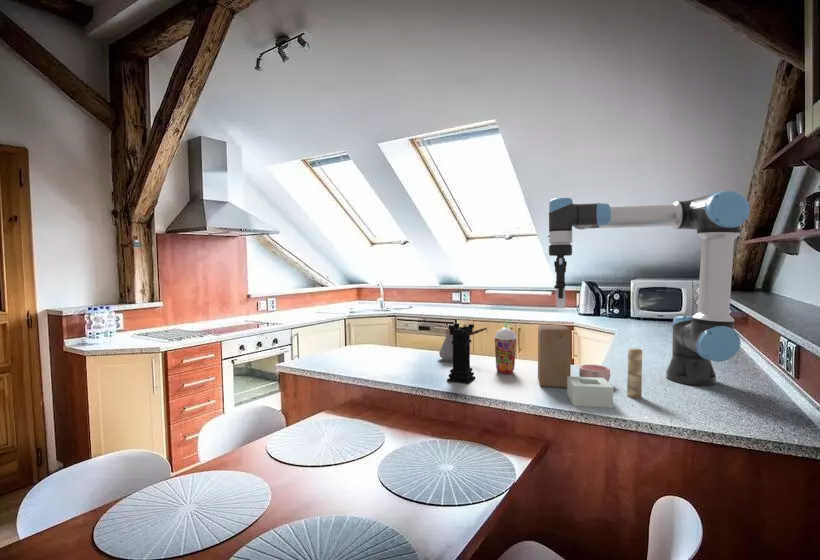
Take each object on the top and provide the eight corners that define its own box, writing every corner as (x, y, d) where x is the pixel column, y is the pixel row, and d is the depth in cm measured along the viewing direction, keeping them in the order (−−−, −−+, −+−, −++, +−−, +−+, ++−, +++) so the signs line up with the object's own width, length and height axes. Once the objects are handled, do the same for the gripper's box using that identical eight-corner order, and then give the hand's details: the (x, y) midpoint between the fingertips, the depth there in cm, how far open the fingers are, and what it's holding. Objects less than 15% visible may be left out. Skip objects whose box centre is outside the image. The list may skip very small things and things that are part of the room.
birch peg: (638, 395, 143) (639, 348, 142) (643, 398, 139) (644, 350, 139) (625, 394, 144) (626, 348, 143) (629, 398, 140) (630, 350, 139)
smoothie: (492, 373, 171) (492, 321, 170) (496, 368, 178) (496, 318, 177) (514, 375, 167) (514, 322, 167) (517, 370, 175) (518, 319, 174)
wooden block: (570, 388, 150) (571, 329, 150) (539, 387, 152) (540, 328, 152) (566, 380, 160) (567, 325, 159) (537, 379, 162) (538, 324, 161)
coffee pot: (435, 361, 192) (435, 326, 191) (444, 356, 202) (444, 323, 201) (484, 366, 183) (484, 329, 182) (491, 360, 193) (491, 325, 193)
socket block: (603, 396, 142) (603, 377, 141) (613, 407, 131) (613, 387, 131) (567, 394, 144) (567, 376, 143) (573, 405, 133) (573, 385, 132)
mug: (612, 389, 150) (612, 371, 150) (581, 387, 152) (581, 370, 152) (605, 380, 161) (606, 363, 161) (576, 378, 164) (576, 362, 164)
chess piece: (475, 378, 164) (475, 324, 163) (468, 384, 156) (468, 327, 156) (454, 376, 167) (454, 323, 166) (447, 381, 160) (447, 325, 159)
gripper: (549, 245, 166) (549, 302, 167) (548, 243, 142) (548, 309, 143) (570, 245, 164) (570, 303, 164) (573, 242, 140) (573, 310, 141)
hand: (560, 306), depth 154 cm, fingers open, 13 cm apart
